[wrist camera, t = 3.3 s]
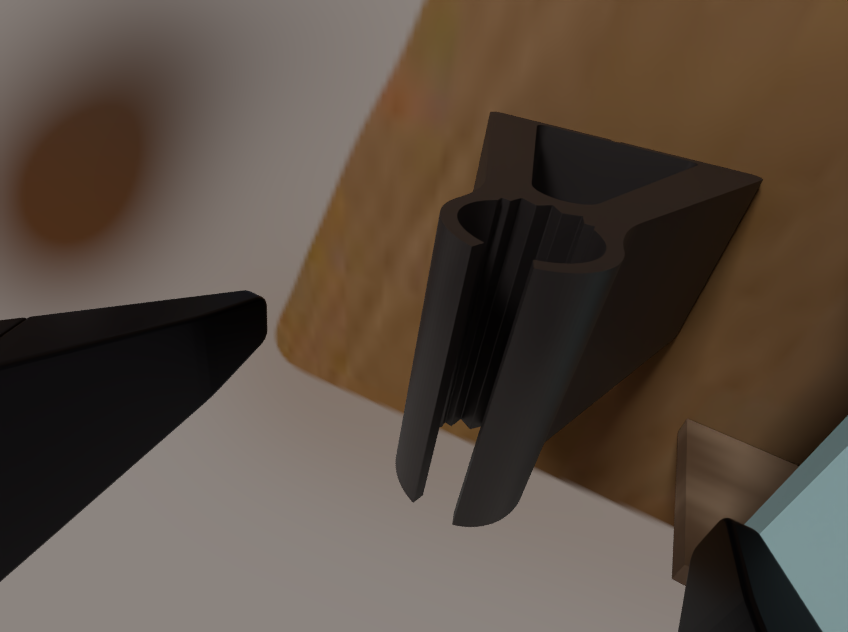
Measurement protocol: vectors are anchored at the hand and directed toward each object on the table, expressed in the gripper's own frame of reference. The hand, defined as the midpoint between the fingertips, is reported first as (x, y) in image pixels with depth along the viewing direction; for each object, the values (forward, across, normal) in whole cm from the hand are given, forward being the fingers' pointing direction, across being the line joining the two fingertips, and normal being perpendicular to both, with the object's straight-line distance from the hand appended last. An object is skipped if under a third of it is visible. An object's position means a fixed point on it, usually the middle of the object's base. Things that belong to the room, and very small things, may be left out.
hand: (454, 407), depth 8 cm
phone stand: (+12, 0, 0) cm, 12 cm away
